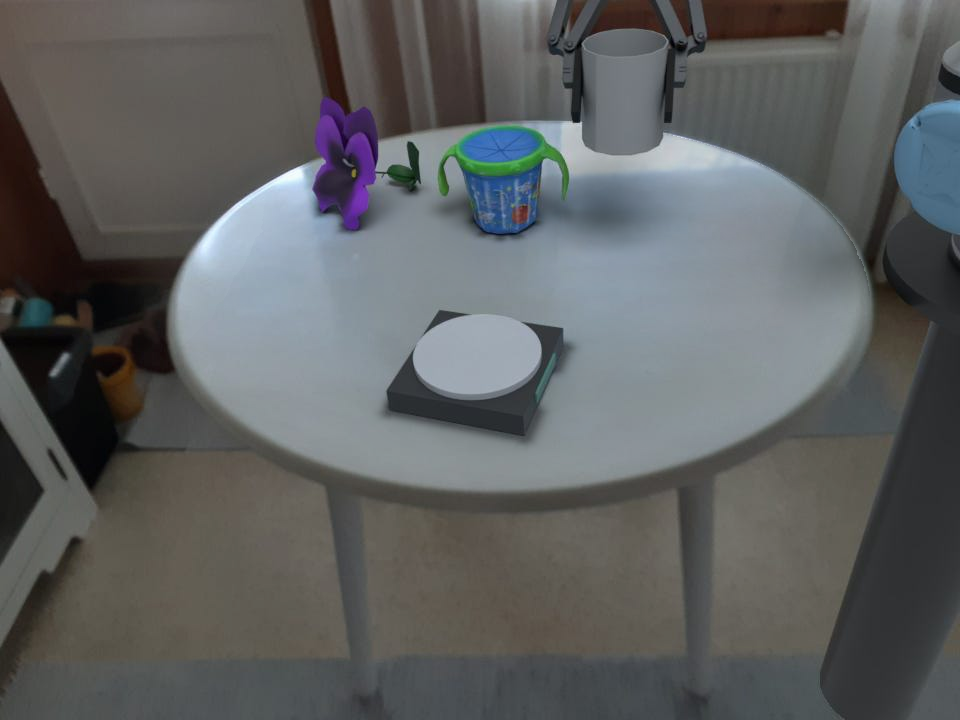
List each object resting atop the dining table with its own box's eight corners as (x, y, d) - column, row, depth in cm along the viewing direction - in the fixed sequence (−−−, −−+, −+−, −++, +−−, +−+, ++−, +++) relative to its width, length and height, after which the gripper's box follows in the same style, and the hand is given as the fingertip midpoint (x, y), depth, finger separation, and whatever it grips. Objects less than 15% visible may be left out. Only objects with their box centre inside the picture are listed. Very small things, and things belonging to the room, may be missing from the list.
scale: (565, 347, 83) (565, 321, 81) (526, 436, 74) (524, 409, 72) (441, 328, 87) (438, 303, 85) (389, 410, 78) (384, 383, 76)
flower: (373, 209, 119) (289, 198, 110) (402, 103, 114) (316, 83, 105) (434, 247, 110) (347, 239, 100) (468, 134, 105) (380, 114, 95)
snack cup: (430, 235, 102) (420, 157, 96) (461, 195, 110) (453, 120, 103) (555, 250, 97) (553, 169, 91) (578, 207, 105) (578, 129, 99)
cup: (641, 116, 93) (645, 23, 87) (676, 145, 87) (683, 47, 81) (570, 131, 92) (569, 37, 85) (600, 161, 85) (602, 63, 79)
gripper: (736, -78, 88) (727, 131, 86) (535, -69, 92) (521, 131, 90) (745, -126, 81) (735, 101, 79) (526, -114, 85) (511, 103, 83)
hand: (621, 117), depth 84 cm, fingers closed on cup, 8 cm apart
